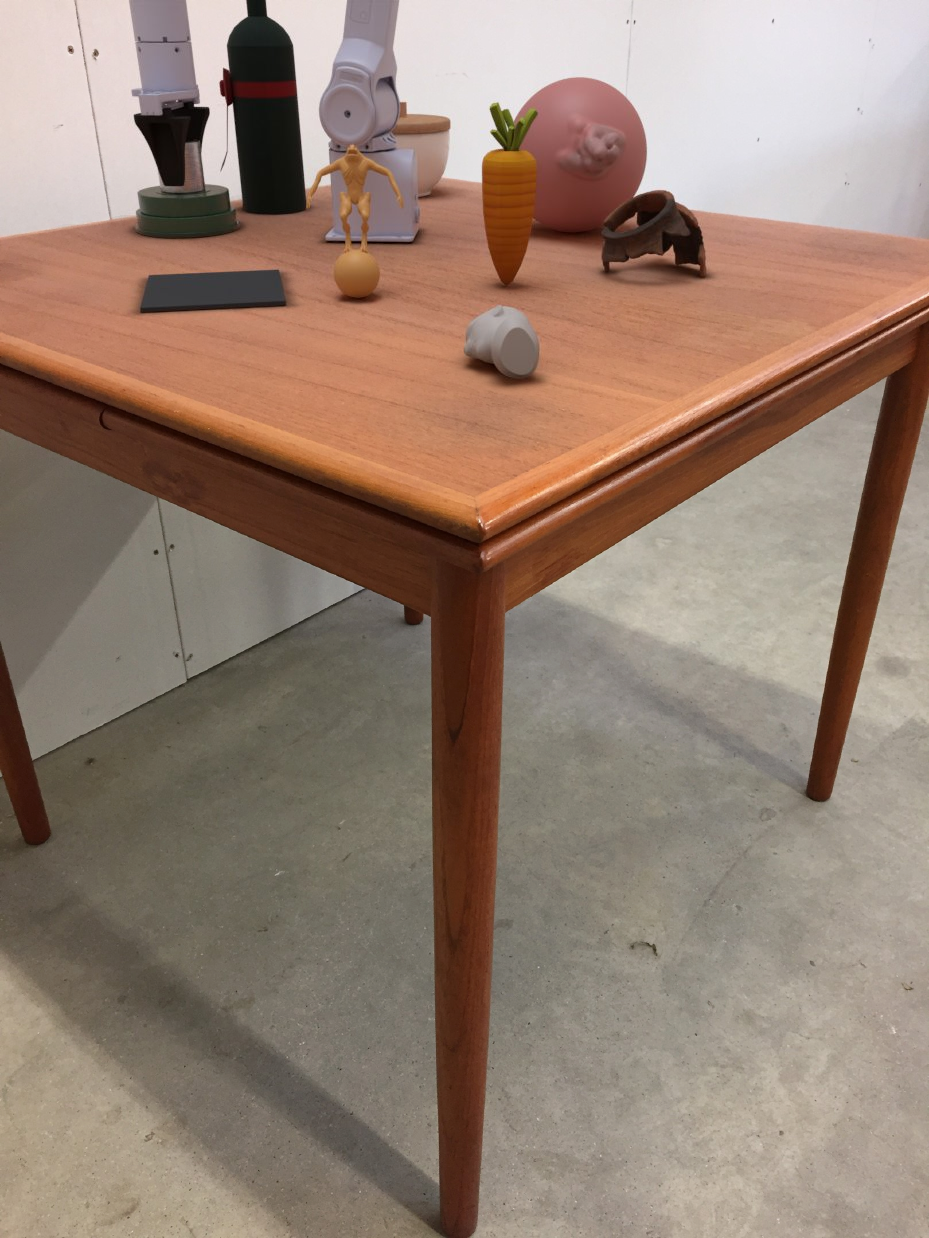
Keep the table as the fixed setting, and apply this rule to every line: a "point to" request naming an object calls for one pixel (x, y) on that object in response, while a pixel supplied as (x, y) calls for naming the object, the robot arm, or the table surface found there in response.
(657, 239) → the broken pot rim
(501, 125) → the carrot
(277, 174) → the wine bottle
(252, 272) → the mat
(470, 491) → the table surface
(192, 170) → the silver cup
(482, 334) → the pale two-lobed sculpture
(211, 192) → the green stepped puck
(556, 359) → the table surface
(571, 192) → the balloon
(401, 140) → the lidded bowl
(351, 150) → the figurine
